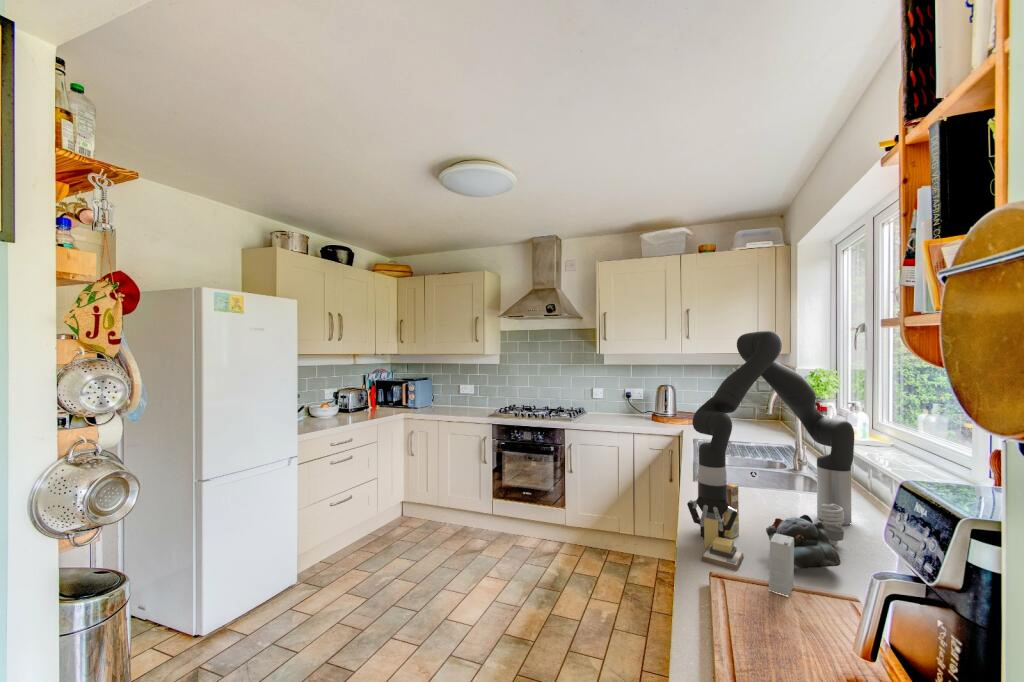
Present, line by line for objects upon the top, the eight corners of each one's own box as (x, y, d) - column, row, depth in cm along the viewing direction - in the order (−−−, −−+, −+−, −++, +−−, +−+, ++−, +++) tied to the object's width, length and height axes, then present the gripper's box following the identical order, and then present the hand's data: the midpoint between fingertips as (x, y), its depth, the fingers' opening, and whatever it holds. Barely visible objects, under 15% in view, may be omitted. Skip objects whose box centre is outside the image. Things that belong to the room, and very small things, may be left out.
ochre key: (716, 543, 125) (716, 536, 125) (733, 547, 122) (733, 540, 122) (712, 549, 121) (712, 542, 121) (730, 554, 118) (730, 546, 118)
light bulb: (840, 543, 130) (840, 501, 131) (847, 551, 125) (847, 508, 125) (817, 540, 132) (817, 499, 132) (824, 548, 127) (823, 506, 127)
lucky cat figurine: (772, 571, 114) (757, 513, 121) (780, 573, 122) (765, 519, 129) (842, 569, 106) (822, 507, 113) (845, 571, 115) (826, 514, 121)
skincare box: (773, 581, 109) (773, 531, 109) (794, 588, 106) (794, 536, 106) (768, 592, 104) (767, 540, 104) (790, 599, 101) (790, 545, 102)
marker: (707, 543, 130) (707, 508, 131) (720, 546, 128) (720, 511, 128) (704, 547, 128) (704, 512, 128) (718, 550, 125) (717, 514, 126)
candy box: (739, 535, 135) (739, 485, 136) (731, 539, 133) (731, 487, 133) (712, 526, 143) (712, 477, 143) (704, 529, 140) (704, 480, 141)
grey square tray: (708, 549, 126) (708, 540, 126) (743, 558, 121) (743, 548, 121) (701, 560, 120) (701, 550, 120) (737, 570, 114) (737, 560, 114)
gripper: (742, 481, 127) (742, 542, 127) (690, 473, 135) (690, 530, 135) (736, 488, 121) (737, 552, 121) (682, 479, 129) (683, 539, 129)
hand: (712, 540), depth 128 cm, fingers closed on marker, 3 cm apart
